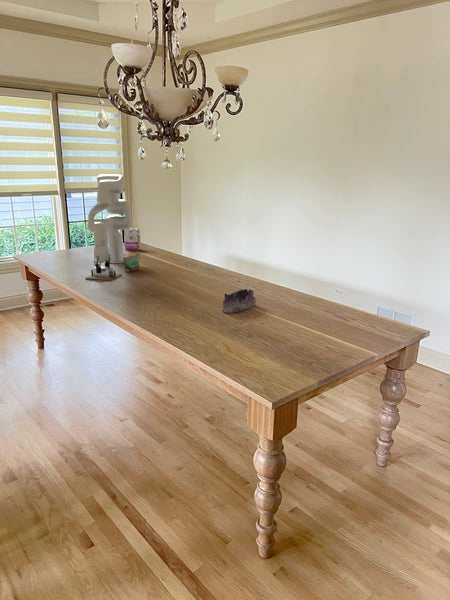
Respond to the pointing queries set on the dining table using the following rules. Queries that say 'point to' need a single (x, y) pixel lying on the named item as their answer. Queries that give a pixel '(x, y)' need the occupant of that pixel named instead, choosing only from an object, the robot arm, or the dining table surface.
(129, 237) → the candy bar box
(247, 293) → the geode
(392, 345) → the dining table surface
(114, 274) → the tray pins
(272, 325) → the dining table surface
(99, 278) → the tray
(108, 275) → the light grey block
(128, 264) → the food container
